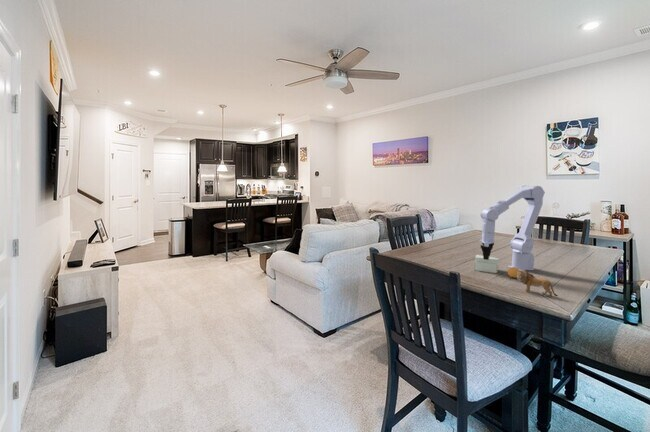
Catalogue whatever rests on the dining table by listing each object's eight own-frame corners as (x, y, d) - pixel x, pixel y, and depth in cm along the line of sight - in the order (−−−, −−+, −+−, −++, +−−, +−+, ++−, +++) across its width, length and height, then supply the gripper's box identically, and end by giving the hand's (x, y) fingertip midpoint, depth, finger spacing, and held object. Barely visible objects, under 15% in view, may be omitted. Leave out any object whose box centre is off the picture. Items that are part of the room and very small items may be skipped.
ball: (514, 275, 154) (515, 265, 153) (521, 278, 149) (522, 268, 148) (505, 275, 153) (505, 266, 153) (511, 279, 149) (512, 269, 148)
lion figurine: (514, 290, 133) (516, 270, 132) (516, 287, 137) (518, 267, 136) (557, 299, 124) (559, 277, 123) (558, 295, 128) (560, 274, 127)
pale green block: (474, 270, 163) (475, 257, 162) (475, 266, 170) (476, 254, 169) (496, 273, 158) (497, 260, 157) (497, 269, 164) (498, 256, 163)
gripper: (481, 229, 169) (479, 253, 171) (478, 233, 157) (476, 259, 159) (495, 230, 166) (494, 255, 167) (494, 234, 154) (492, 261, 155)
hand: (486, 257), depth 163 cm, fingers open, 7 cm apart
